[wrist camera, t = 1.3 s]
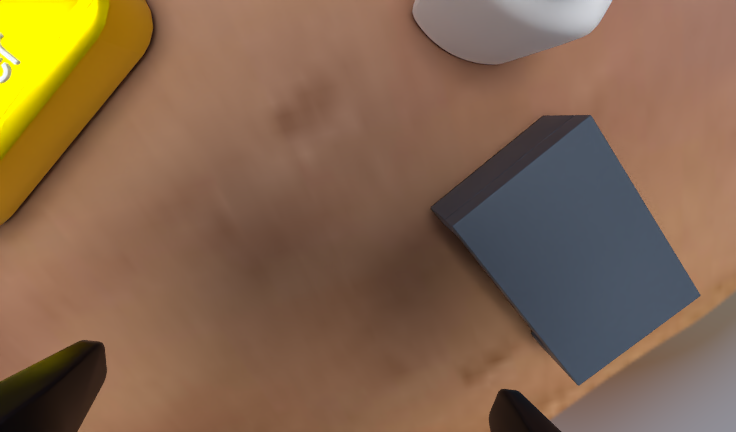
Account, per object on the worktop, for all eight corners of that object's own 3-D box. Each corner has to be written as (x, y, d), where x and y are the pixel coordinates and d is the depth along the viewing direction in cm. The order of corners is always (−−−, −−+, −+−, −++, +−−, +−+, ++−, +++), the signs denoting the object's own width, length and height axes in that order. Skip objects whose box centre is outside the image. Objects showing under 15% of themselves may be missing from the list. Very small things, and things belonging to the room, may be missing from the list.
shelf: (539, 344, 25) (578, 386, 21) (430, 207, 22) (451, 226, 18) (642, 267, 24) (701, 295, 21) (543, 115, 21) (591, 114, 18)
